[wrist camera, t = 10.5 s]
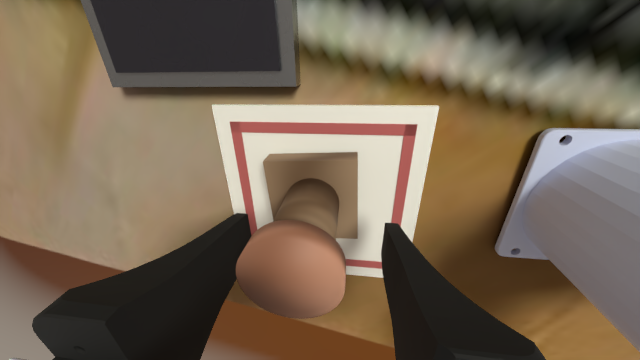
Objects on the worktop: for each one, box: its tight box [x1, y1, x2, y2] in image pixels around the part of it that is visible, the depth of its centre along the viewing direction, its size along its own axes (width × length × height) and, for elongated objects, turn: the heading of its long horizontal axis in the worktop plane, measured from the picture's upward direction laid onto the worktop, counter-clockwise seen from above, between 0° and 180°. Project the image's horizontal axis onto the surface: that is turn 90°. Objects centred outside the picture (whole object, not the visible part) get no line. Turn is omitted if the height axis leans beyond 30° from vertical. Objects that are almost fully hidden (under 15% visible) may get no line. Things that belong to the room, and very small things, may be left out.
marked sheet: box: [212, 104, 439, 278], centre depth 15 cm, size 12×12×1 cm
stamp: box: [236, 152, 358, 319], centre depth 12 cm, size 5×5×7 cm
